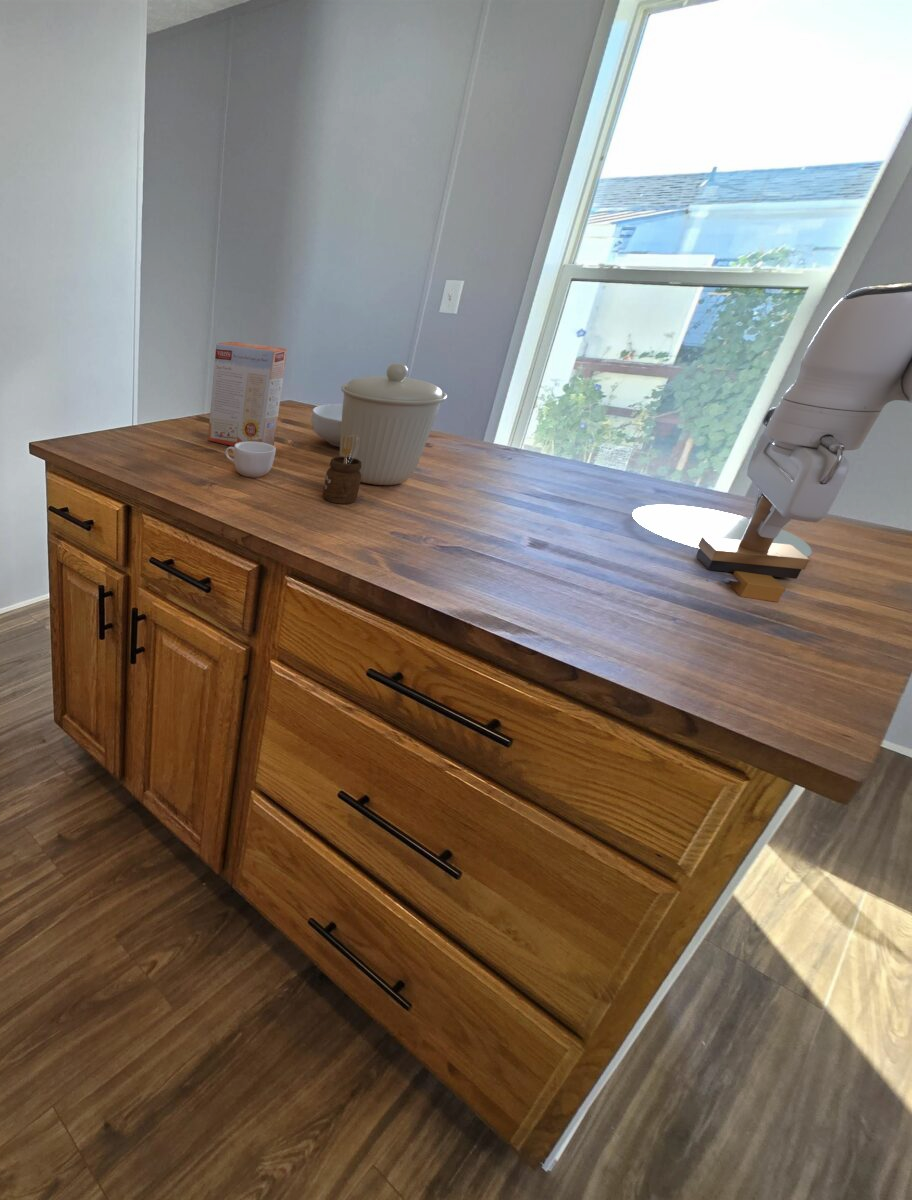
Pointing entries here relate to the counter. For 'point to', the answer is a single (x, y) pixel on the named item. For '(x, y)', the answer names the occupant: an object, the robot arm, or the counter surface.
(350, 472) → the utensil holder
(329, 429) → the cereal bowl
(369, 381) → the canister
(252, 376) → the cracker box
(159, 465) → the counter surface
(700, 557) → the brush
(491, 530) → the counter surface
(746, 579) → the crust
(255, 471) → the teacup
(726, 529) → the disc
